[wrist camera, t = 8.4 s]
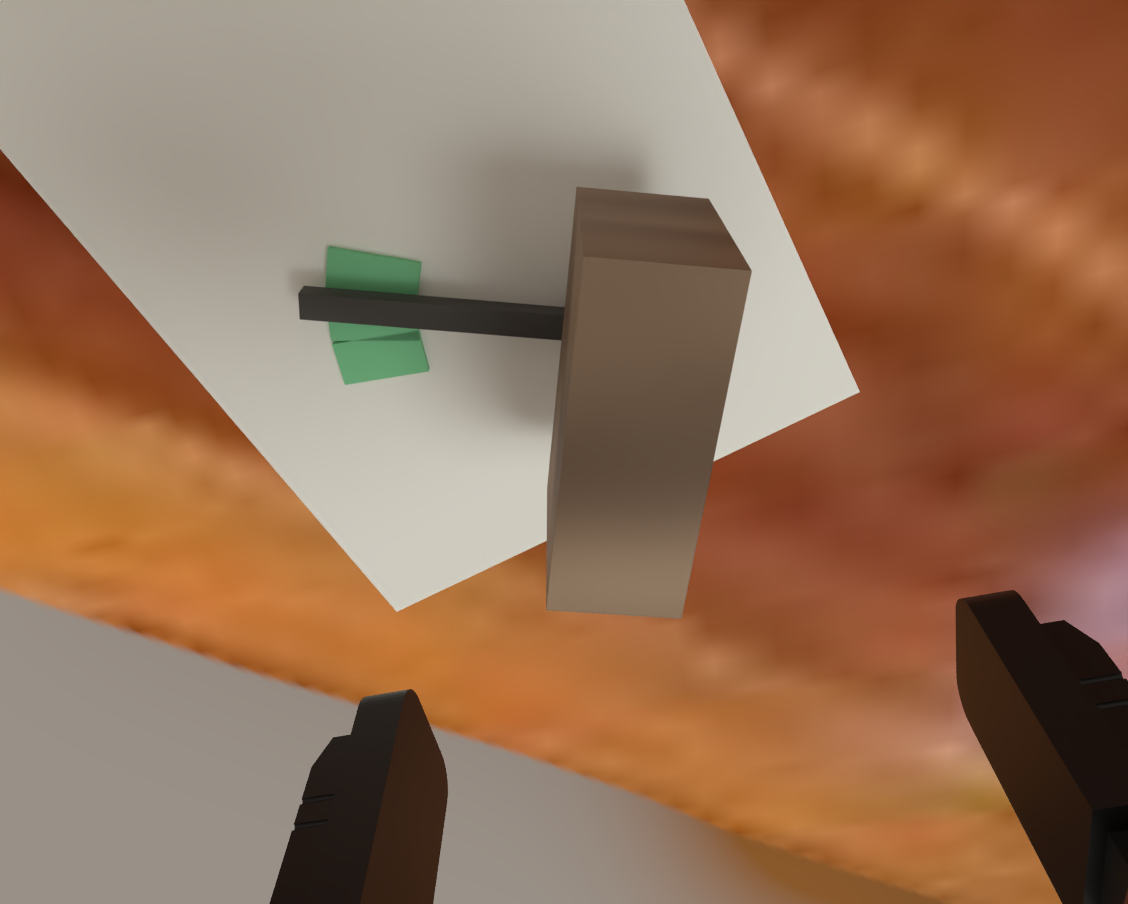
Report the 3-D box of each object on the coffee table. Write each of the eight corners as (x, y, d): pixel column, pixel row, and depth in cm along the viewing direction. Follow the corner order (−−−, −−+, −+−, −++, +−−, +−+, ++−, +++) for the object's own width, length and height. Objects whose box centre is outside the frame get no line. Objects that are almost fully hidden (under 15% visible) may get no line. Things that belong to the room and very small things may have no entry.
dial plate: (406, -601, 17) (393, -652, 15) (844, 369, 27) (861, 395, 26) (-172, -105, 21) (-227, -108, 19) (403, 583, 31) (395, 615, 29)
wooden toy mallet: (299, 137, 22) (194, 222, 15) (694, 173, 22) (752, 271, 16) (313, 426, 26) (236, 590, 19) (649, 451, 26) (681, 618, 20)
